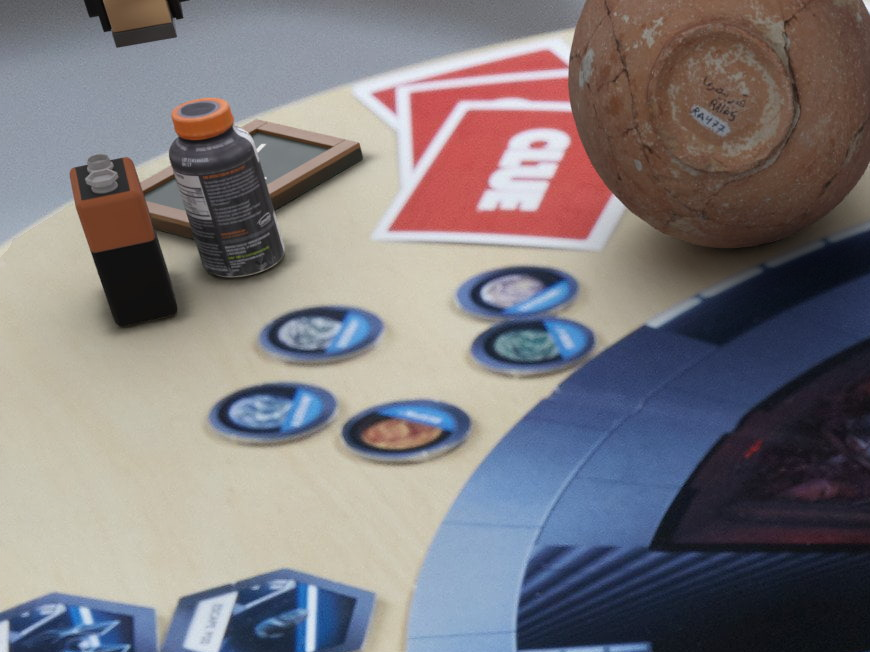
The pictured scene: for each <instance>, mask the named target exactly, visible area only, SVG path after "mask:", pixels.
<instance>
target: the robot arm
mask: <svg viewBox="0 0 870 652" xmlns="http://www.w3.org/2000/svg"><path fill="white" fill-rule="evenodd" d="M167 1H168V4H169V7H170V11H171V12H172V15H173V18H174V19H175V20H177V21H178V20H183V19H185V17H184V13H183V6H182V3H183V2H189V1H190V0H167ZM83 2H84V6H85V8H86V13H87V15H88V17H89V18H90V19H91V18H97V17H98V19H99V22H100V25H101V27H102V31H103V33H108V32H112V28H111V24H110V21H109V18H108V15H107V12H106V8H105V5H104V2H103V0H83Z"/></svg>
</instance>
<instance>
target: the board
mask: <svg viewBox="0 0 870 652" xmlns="http://www.w3.org/2000/svg"><path fill="white" fill-rule="evenodd" d="M240 128H242V129H244V130H245V131H247V132H248V133H249V134H250V135H251V137H252V138H253V140H254V143H255V146H256V150H257V153H258V157H259V160H260V163H261V167H262V170H263V174H264V177H265V181H266V184H267V187H268V191H269V194H270V198H271V202H272V205H273V208H274V211H275V210H277V209H279V208H281V207H283V206H284V205H286V204H288V203H290V202H291V201H293V200H295V199H297V198H298V197H300V196H301V195H303V194H305V193H307V192H308V191H310V190H312V189H313V188H315V187H317V186H318V185H321V184H322V183H324V182H326V181H327V180H329V179H331V178H332V177H334V176H336V175H338V174H339V173H341V172H343V171H345V170H346V169H348V168H350V167H352V166H353V165H355V164H356V163H358V162H360V161H362V160H363V159H364V155H363V151H362V147H361V143H360V142H359V141H355V140H350V139H346V138H341V137H337V136H332V135H328V134H324V133H320V132H316V131H311V130H306V129H302V128H297V127H294V126H293V127H292V126H289V125H285V124H280V123H275V122H272V121H267V120H262V119H257V118H256V119H253V120H252V121H249V122H248V123H246V124H245V125H243V126H241V127H240ZM140 184H141V187H142V191H143V194H144V197H145V200H146V203H147V206H148V209H149V212H150V216H151V219H152V222H153V225H154V228H155V230H157V231H161V232H165V233H168V234H172V235H176V236H180V237H184V238H188V239H191V240H195V239H194V236H193V233H192V230H191V227H190V223H189V220H188V217H187V214H186V211H185V208H184V204H183V201H182V198H181V195H180V192H179V188H178V186H177V182H176V178H175V175H174V172H173V169H172V165H171V164H170V165H169V166H168V167H167V166H166V167H165V168H164V169H162V170H160V171H158V172H156V173H155V174H153V175H151V176H149V177H147V178H145V179H143V180H142V181H140Z"/></svg>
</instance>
